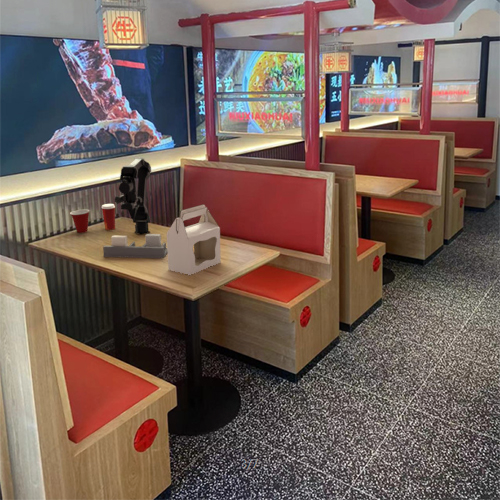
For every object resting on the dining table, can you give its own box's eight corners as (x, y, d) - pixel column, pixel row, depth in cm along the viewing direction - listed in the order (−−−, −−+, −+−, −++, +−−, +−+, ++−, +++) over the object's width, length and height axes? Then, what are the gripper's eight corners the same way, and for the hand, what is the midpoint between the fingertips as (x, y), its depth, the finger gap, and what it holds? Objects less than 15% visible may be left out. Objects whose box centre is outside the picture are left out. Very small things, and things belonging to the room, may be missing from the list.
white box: (148, 249, 275) (147, 233, 273) (161, 249, 275) (160, 234, 272) (146, 251, 272) (145, 235, 270) (160, 251, 272) (159, 235, 269)
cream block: (114, 250, 273) (113, 235, 271) (128, 250, 273) (127, 235, 270) (112, 252, 270) (111, 237, 268) (126, 253, 269) (125, 237, 267)
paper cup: (119, 227, 320) (117, 204, 315) (112, 230, 313) (110, 207, 308) (107, 226, 322) (105, 203, 318) (100, 229, 315) (98, 206, 311)
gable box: (189, 276, 241) (186, 214, 233) (167, 270, 249) (164, 210, 240) (221, 262, 258) (219, 204, 250) (200, 257, 266) (198, 201, 257)
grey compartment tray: (112, 248, 280) (111, 239, 278) (169, 250, 277) (169, 240, 276) (103, 256, 268) (102, 247, 266) (163, 258, 265) (163, 248, 263)
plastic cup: (73, 229, 316) (71, 209, 313) (93, 228, 318) (91, 208, 314) (70, 234, 306) (67, 213, 303) (89, 233, 307) (87, 212, 304)
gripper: (121, 186, 295) (123, 214, 300) (109, 193, 278) (112, 223, 282) (141, 186, 294) (143, 214, 299) (131, 193, 277) (133, 223, 281)
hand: (132, 218), depth 290 cm, fingers closed
